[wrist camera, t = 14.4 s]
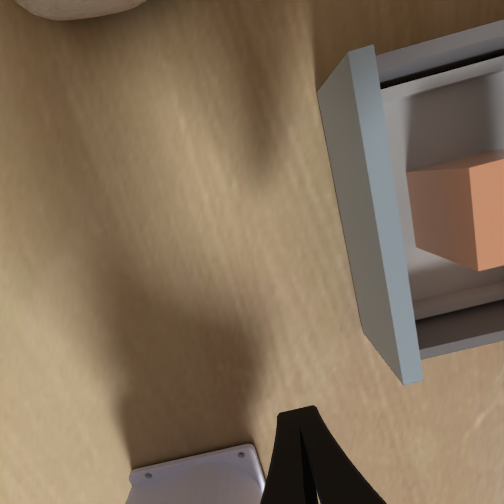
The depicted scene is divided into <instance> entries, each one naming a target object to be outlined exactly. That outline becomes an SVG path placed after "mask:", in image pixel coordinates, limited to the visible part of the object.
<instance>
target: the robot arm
mask: <svg viewBox="0 0 504 504" xmlns="http://www.w3.org/2000/svg"><path fill="white" fill-rule="evenodd" d="M240 452H243V453H240ZM149 473H150V474H149ZM129 480H130V483H131V485H132V488H131V490H130V493H129V496H128V498H127V501H126V503H125V504H318V498H317V493H318V496H319V500H320V503H321V504H387V503H386V502H385V501H384V500H383V499H382V498H381V497H380V496H379V495H378V493H377V492H376V491H375V490H374V489H373V488H372V487H371V485H370V484H369V483H368V482H367V481H366V480H365V478H364V477H363V476H362V475H361V473H360V472H359V471H358V470H357V469H356V467H355V466H354V465H353V464H352V462H351V461H350V460H349V458H348V457H347V456H346V454H345V453H344V452H343V450H342V449H341V447H340V446H339V445H338V443H337V442H336V440H335V439H334V437H333V436H332V434H331V433H330V431H329V430H328V428H327V426H326V425H325V423H324V421H323V420H322V418H321V416H320V414H319V412H318V409H317V407H315V406H314V405H312V406H308V407H303V408H299V409H294V410H290V411H286V412H281V413H279V414H278V416H277V428H276V436H275V442H274V448H273V453H272V458H271V463H270V467H269V472H268V476H267V479H266V482H265V479H264V476H263V473H262V469H261V466H260V463H259V460H258V457H257V453H256V450H255V447H254V446H253V445H252V444H244V445H240V446H235V447H231V448H226V449H222V450H217V451H213V452H208V453H204V454H200V455H195V456H191V457H186V458H182V459H177V460H173V461H169V462H164V463H160V464H155V465H151V466H146V467H142V468H138V469H134V470H132V471H131V473H130V475H129ZM316 490H317V491H316Z"/></svg>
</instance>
